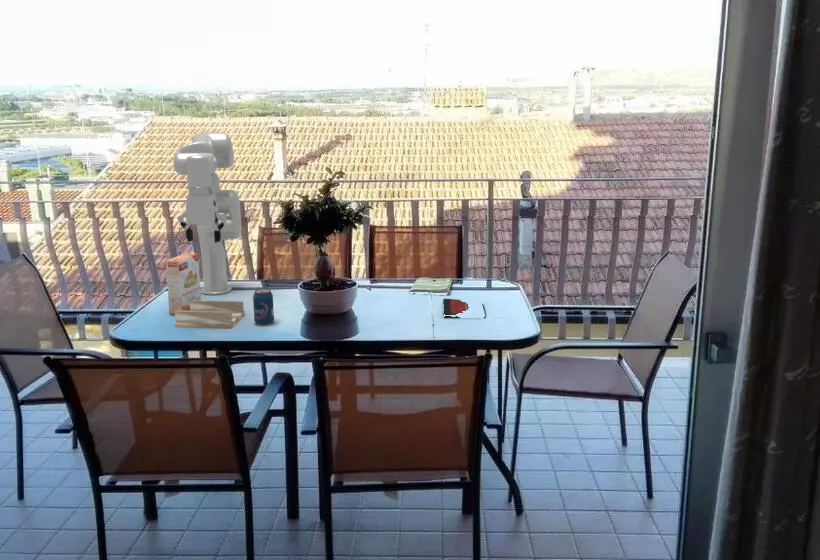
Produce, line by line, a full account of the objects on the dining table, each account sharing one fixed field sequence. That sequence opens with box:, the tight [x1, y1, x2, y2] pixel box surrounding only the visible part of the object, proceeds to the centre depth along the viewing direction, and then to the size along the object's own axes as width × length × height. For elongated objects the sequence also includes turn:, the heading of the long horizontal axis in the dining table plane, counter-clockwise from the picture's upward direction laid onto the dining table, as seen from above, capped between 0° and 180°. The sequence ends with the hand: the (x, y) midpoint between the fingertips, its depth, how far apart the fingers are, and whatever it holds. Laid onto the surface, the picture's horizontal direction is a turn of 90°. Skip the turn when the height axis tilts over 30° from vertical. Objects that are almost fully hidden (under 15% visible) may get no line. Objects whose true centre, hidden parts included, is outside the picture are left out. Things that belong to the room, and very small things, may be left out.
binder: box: [442, 298, 469, 315], centre depth 250 cm, size 16×2×21 cm
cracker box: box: [165, 252, 202, 316], centre depth 246 cm, size 14×6×21 cm, turn 168°
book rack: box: [174, 299, 246, 329], centre depth 235 cm, size 16×20×6 cm
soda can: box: [252, 288, 275, 326], centre depth 232 cm, size 7×7×12 cm
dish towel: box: [408, 277, 454, 294], centre depth 281 cm, size 17×23×4 cm
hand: (203, 241), depth 224 cm, fingers open, 9 cm apart
